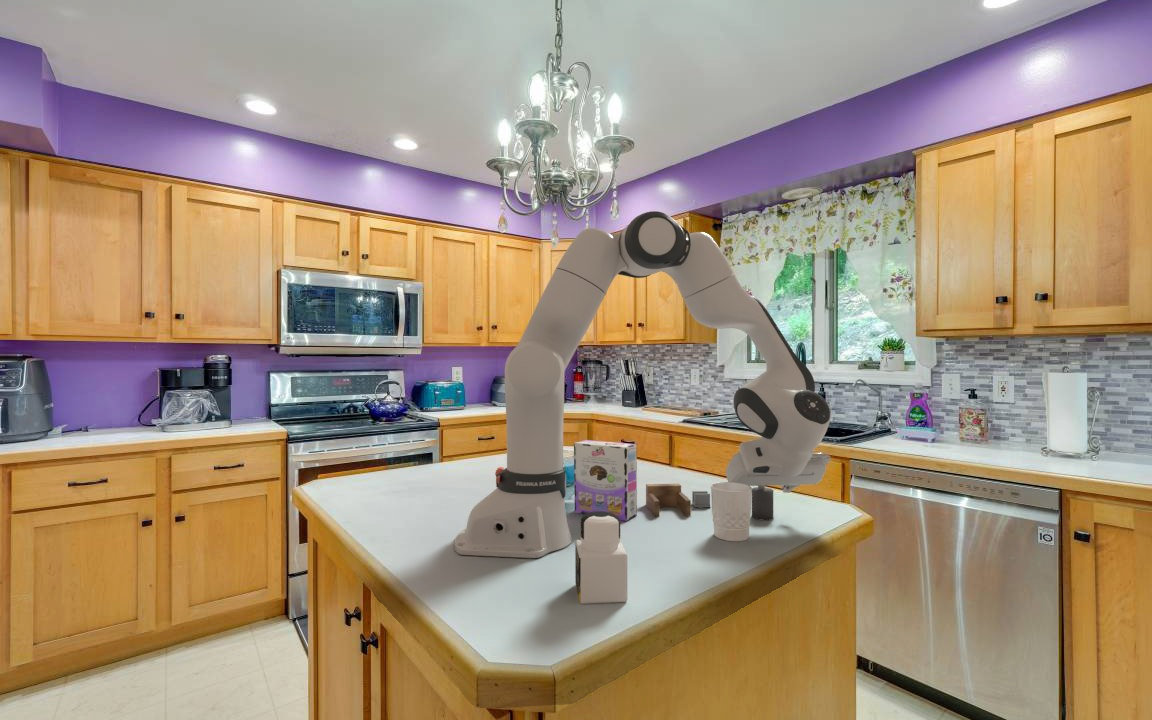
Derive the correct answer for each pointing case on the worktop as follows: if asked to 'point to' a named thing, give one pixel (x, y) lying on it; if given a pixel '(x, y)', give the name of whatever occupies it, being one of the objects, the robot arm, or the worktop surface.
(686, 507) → the frame
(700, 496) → the clip
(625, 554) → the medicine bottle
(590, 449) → the candy box
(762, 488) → the plug
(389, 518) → the worktop surface
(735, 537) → the white cup
